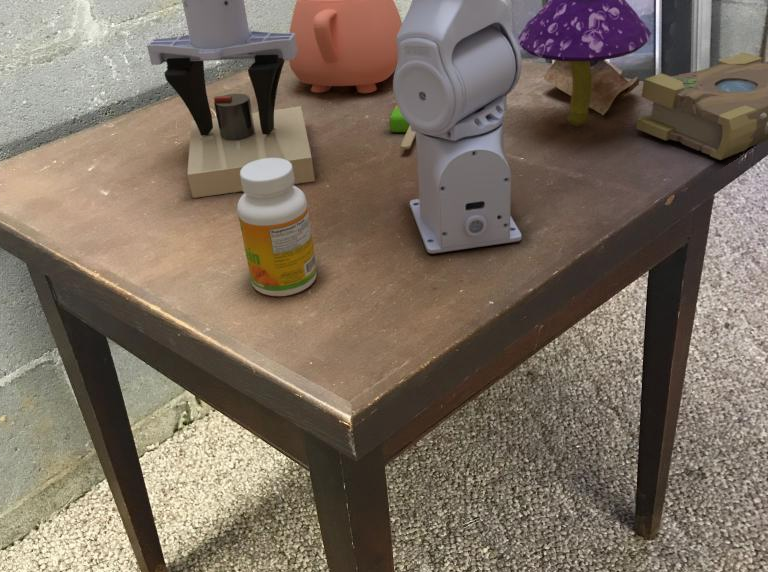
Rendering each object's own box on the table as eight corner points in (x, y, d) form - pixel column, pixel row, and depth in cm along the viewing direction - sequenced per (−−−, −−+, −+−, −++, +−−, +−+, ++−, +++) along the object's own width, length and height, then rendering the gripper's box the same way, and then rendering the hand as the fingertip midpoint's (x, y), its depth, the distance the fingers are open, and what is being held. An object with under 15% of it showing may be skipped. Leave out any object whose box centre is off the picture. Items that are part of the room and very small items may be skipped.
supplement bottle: (243, 275, 73) (220, 164, 67) (303, 257, 74) (286, 147, 68) (264, 305, 69) (243, 191, 63) (327, 285, 70) (312, 172, 64)
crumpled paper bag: (638, 76, 89) (660, 97, 95) (556, 17, 94) (582, 42, 100) (601, 123, 91) (625, 141, 97) (523, 63, 96) (551, 84, 102)
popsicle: (453, 101, 99) (452, 84, 98) (432, 157, 88) (431, 138, 87) (405, 101, 100) (404, 84, 99) (378, 156, 89) (377, 138, 88)
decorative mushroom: (491, 132, 91) (491, -24, 81) (564, 94, 97) (572, -54, 88) (592, 161, 83) (605, -7, 74) (664, 118, 90) (685, -41, 80)
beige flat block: (315, 181, 86) (311, 155, 84) (192, 198, 85) (186, 172, 83) (304, 128, 97) (301, 104, 95) (196, 143, 96) (190, 119, 94)
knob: (259, 126, 91) (253, 89, 89) (249, 140, 89) (243, 103, 86) (226, 126, 92) (219, 90, 90) (216, 140, 89) (208, 103, 87)
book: (732, 92, 93) (743, 44, 90) (825, 124, 86) (841, 73, 83) (635, 128, 87) (643, 78, 84) (727, 166, 80) (739, 113, 77)
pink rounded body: (423, 51, 113) (418, -52, 106) (383, 110, 99) (374, -5, 91) (326, 51, 117) (314, -49, 109) (273, 107, 102) (255, -3, 95)
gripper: (122, 6, 80) (158, 148, 89) (275, -2, 77) (296, 146, 86) (150, -15, 85) (181, 121, 94) (293, -23, 83) (312, 118, 91)
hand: (237, 131), depth 90 cm, fingers open, 6 cm apart
